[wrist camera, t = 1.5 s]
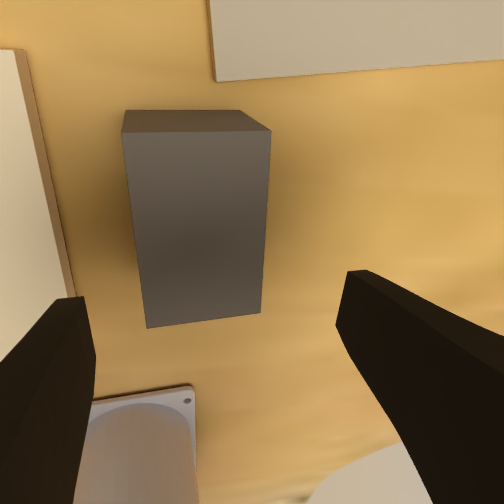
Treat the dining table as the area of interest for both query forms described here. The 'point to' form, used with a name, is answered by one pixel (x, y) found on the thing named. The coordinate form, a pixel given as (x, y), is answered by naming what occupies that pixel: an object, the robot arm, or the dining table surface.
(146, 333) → the dining table surface
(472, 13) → the baseboard molding
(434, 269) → the dining table surface
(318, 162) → the dining table surface
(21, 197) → the board
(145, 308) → the block
